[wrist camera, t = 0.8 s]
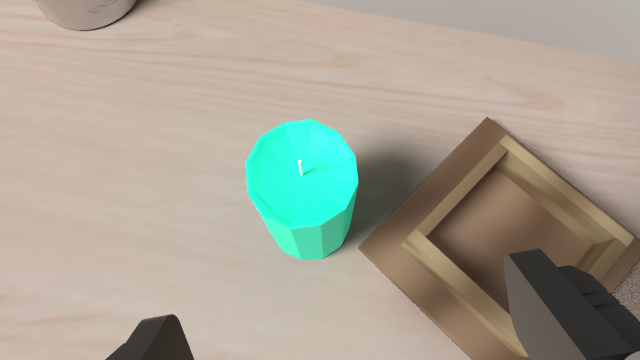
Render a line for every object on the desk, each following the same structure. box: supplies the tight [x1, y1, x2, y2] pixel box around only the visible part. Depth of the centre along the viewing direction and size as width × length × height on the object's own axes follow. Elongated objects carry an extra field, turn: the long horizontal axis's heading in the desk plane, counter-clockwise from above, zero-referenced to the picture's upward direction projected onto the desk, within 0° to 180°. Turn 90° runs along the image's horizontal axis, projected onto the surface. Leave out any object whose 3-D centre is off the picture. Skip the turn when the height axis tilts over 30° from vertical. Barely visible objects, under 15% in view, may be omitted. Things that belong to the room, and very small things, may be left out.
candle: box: [246, 119, 359, 260], centre depth 28 cm, size 6×6×12 cm
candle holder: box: [359, 117, 640, 360], centre depth 31 cm, size 14×14×4 cm
